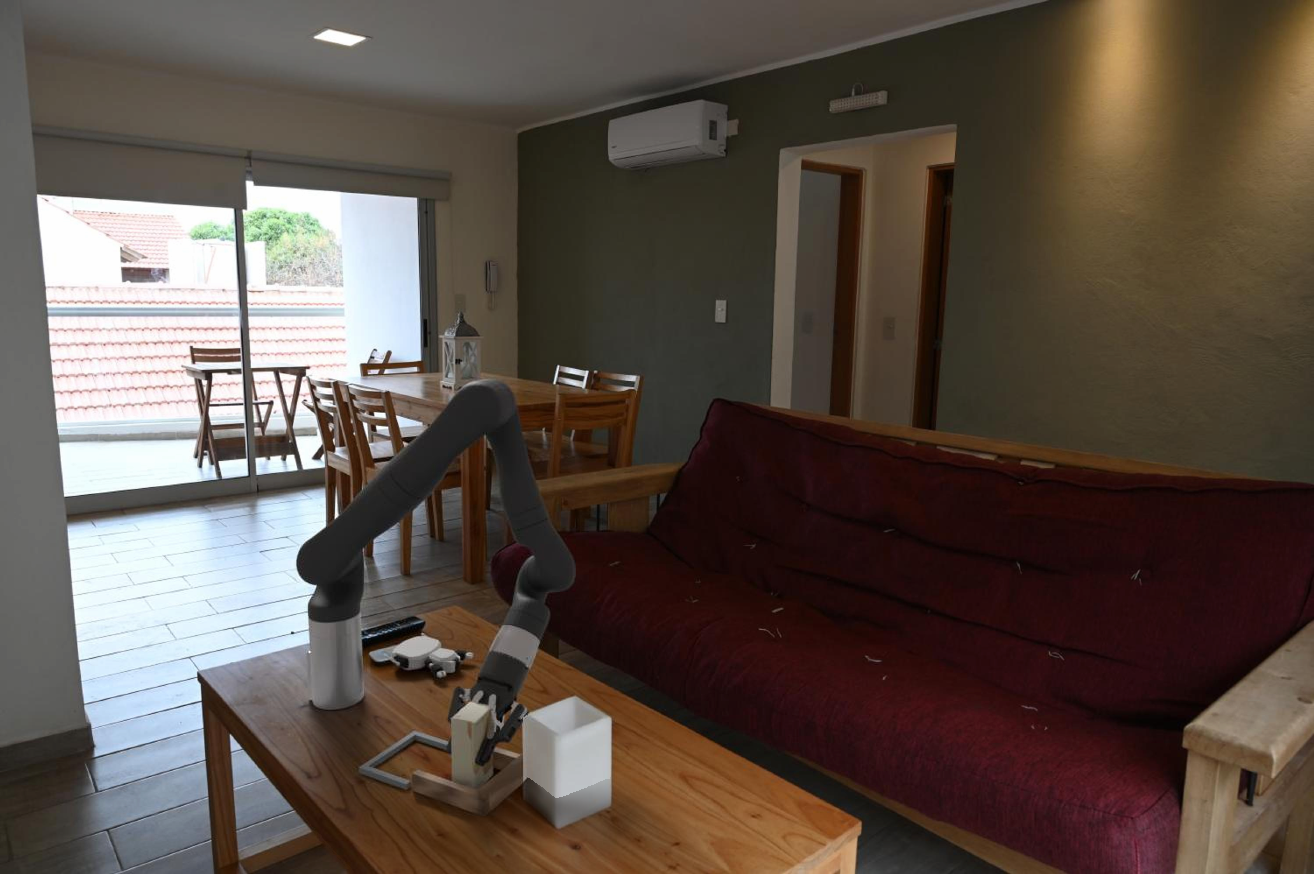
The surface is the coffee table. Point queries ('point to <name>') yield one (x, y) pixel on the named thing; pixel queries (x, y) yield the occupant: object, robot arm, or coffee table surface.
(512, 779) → the frame
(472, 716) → the skincare box
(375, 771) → the bracket
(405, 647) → the robot toy
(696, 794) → the coffee table surface
